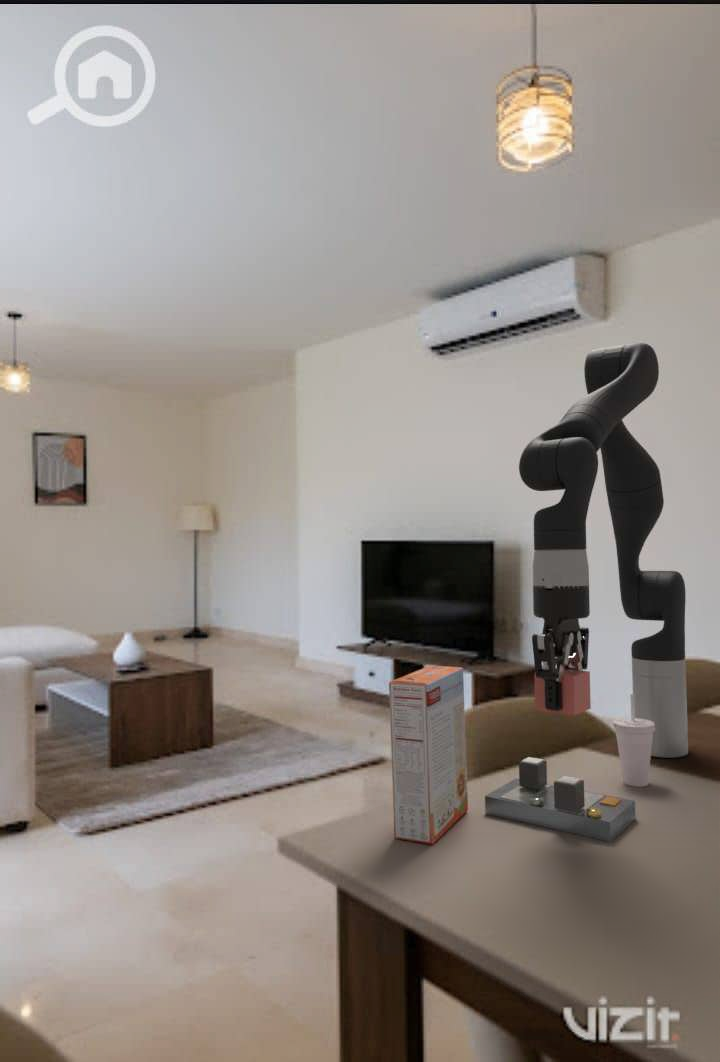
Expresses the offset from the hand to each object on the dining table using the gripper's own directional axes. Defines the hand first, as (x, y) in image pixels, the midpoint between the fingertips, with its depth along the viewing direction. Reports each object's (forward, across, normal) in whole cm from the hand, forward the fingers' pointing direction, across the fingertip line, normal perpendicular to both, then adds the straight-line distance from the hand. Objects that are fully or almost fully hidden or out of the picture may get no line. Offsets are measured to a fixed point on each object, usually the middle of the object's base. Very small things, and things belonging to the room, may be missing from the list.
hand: (563, 705), depth 102 cm
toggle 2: (+13, +1, +1) cm, 13 cm away
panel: (+16, -3, -2) cm, 16 cm away
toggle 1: (+13, -5, -7) cm, 16 cm away
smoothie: (+16, -24, +2) cm, 29 cm away
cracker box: (+17, +10, -15) cm, 25 cm away
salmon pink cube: (+1, 0, 0) cm, 1 cm away
